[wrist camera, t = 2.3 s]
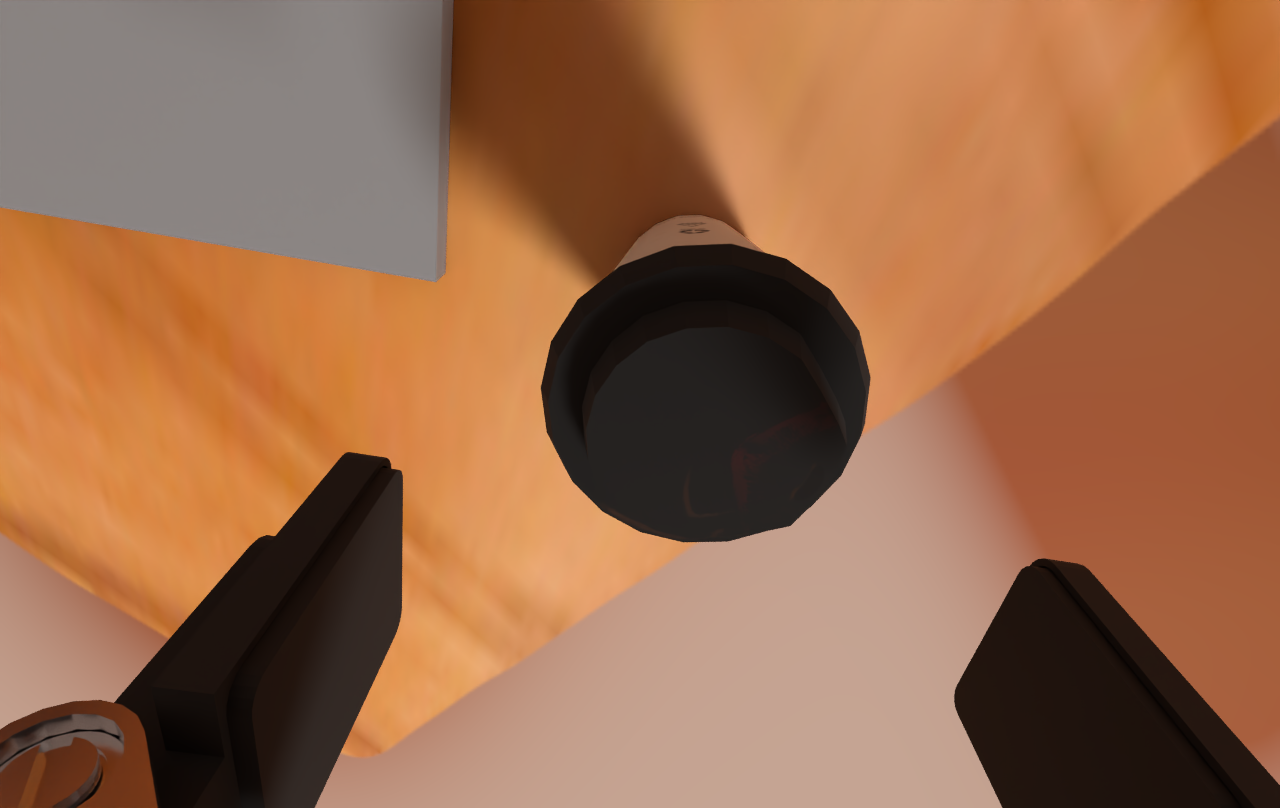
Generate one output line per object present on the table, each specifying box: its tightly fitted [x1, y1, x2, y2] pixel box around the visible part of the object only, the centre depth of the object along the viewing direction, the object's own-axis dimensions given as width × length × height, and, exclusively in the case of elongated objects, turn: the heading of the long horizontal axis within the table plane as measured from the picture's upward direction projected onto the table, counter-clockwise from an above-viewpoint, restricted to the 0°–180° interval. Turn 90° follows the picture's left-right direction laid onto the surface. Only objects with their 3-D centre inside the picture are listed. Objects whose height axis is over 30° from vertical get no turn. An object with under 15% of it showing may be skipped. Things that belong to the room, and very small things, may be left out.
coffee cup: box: [541, 215, 870, 542], centre depth 17 cm, size 7×7×10 cm
